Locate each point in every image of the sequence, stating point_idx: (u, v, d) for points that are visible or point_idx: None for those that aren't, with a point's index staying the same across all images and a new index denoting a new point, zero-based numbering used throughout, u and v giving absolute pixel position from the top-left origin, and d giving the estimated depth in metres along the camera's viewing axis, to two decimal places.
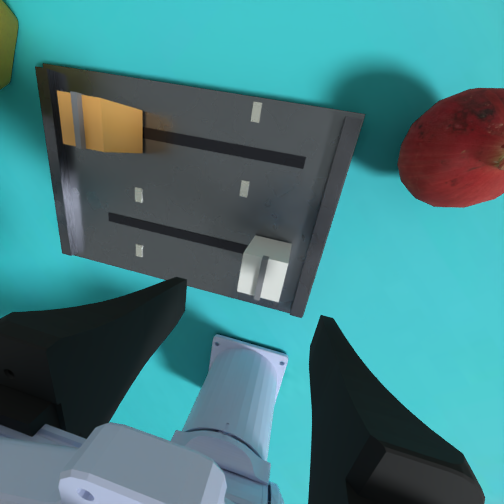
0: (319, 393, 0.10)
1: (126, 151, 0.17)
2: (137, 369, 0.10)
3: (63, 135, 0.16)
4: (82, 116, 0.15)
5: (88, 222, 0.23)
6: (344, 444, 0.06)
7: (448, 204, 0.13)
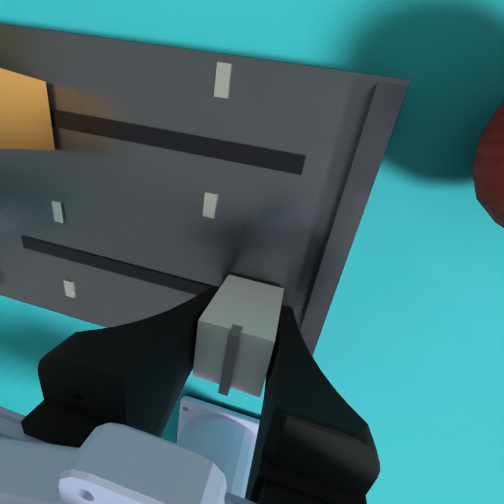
0: (269, 378, 0.10)
1: (14, 146, 0.11)
2: (182, 383, 0.10)
3: None
4: None
5: None
6: (267, 419, 0.06)
7: None
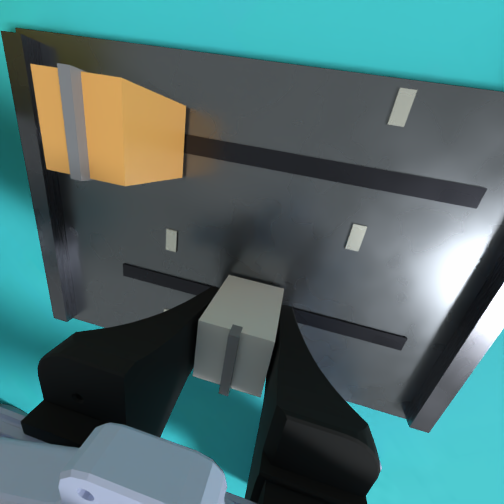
0: (269, 378, 0.10)
1: (160, 178, 0.10)
2: (182, 383, 0.10)
3: (46, 153, 0.08)
4: (83, 116, 0.07)
5: (92, 275, 0.15)
6: (268, 419, 0.06)
7: None
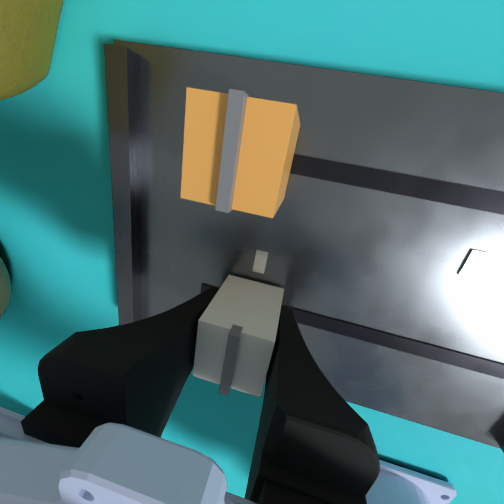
0: (269, 378, 0.10)
1: (280, 203, 0.09)
2: (182, 383, 0.10)
3: (184, 181, 0.07)
4: (241, 145, 0.07)
5: (164, 295, 0.15)
6: (267, 419, 0.06)
7: None
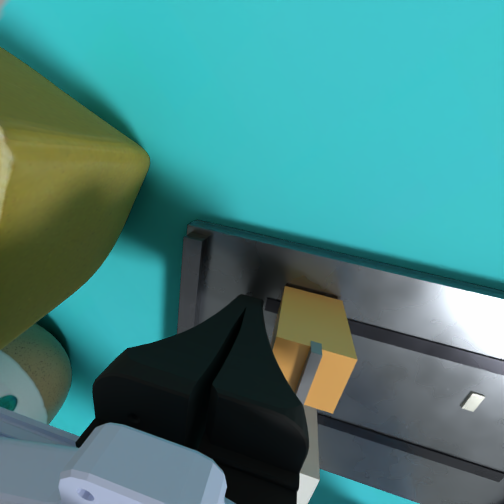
0: None
1: None
2: None
3: None
4: None
5: None
6: None
7: None
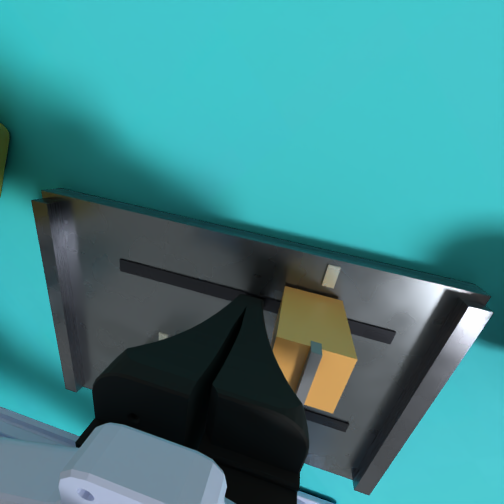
0: None
1: None
2: None
3: None
4: None
5: (98, 357, 0.18)
6: None
7: None
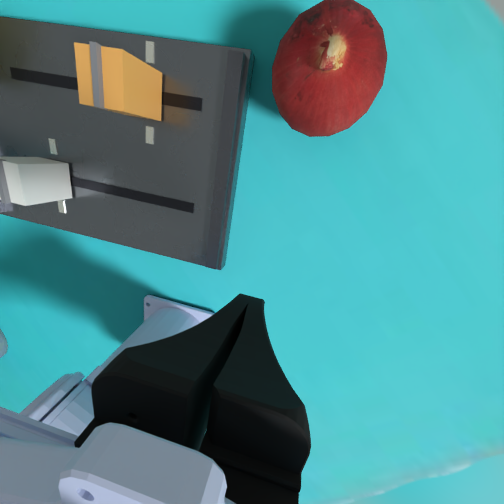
0: None
1: (145, 115, 0.16)
2: None
3: (80, 94, 0.15)
4: (101, 71, 0.14)
5: None
6: None
7: (311, 127, 0.13)
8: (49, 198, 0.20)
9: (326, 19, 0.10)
